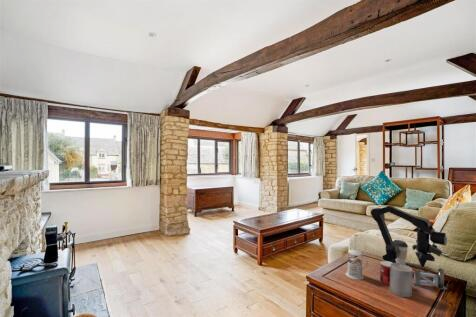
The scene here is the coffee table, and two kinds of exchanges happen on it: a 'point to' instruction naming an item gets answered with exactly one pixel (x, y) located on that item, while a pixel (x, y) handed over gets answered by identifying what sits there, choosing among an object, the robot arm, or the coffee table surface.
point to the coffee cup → (403, 250)
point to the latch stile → (417, 279)
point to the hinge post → (441, 279)
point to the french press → (354, 272)
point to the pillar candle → (401, 279)
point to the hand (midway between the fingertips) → (422, 267)
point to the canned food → (385, 272)
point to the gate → (429, 282)
